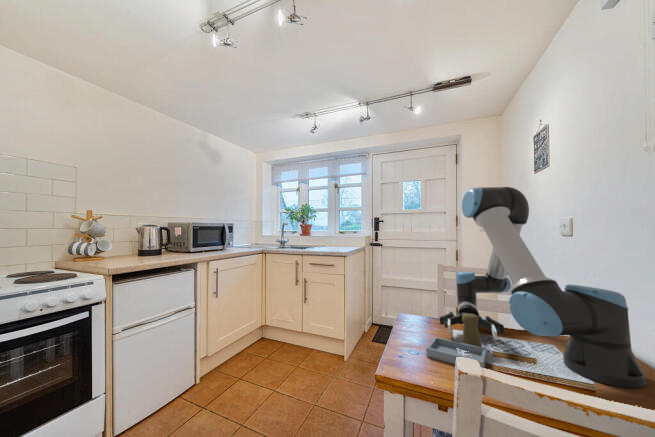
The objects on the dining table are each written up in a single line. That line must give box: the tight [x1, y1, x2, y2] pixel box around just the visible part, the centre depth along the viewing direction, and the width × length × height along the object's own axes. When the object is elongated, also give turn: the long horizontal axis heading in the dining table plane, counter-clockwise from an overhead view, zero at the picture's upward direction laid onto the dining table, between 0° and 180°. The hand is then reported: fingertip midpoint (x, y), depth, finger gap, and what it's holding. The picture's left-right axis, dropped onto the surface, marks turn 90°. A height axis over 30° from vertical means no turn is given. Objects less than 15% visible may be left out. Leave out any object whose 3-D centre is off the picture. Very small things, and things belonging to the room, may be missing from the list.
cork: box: [461, 313, 483, 347], centre depth 84 cm, size 6×6×11 cm
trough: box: [425, 336, 488, 368], centre depth 78 cm, size 16×11×3 cm
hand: (471, 332), depth 82 cm, fingers open, 13 cm apart
